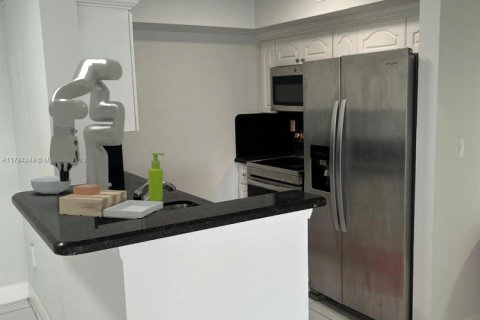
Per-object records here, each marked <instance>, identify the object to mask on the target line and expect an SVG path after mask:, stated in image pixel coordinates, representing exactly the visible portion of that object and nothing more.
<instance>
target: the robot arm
mask: <svg viewBox="0 0 480 320" xmlns="http://www.w3.org/2000/svg"><path fill="white" fill-rule="evenodd" d="M122 77H123V67H122V65H121V63H120V62H119V61H117V60H115V59H111V58H107V57H106V58H105V57H86V58H82V60H80V61H79V63H78V65H77V68H76V70H75V72H74V75H73V77H72V80H70V81H68V82H66V83H65V84H63V85H61V86H60V87H59V88H57V89H56V90H55V91H54V93H53V95H52V97H51V99H50V101H49V104H48V113H49V116H50V117H51V118H52V134H53V135H52V136H51V138H50V145H49V161H50V165H51V166H54V167H56V168H57V171H59V176H60V181H61V182H66V181H69V177H70V171H71V169H72V168H73V167H77V166H78V165H79V162H80V160H81V157H80V156H81V155H80V154H81V153H80V144H79V139H78V136H76V134H78V129H76V128H75V127H76V126H75V125H76V124H75V123H76V121H75V120H83V119H85V118H86V117H87V116H89V117H88V118H89V119H90V120H91V121H92V122H96V123H91V124H88V125H85V126H84V127H83V128H84V129H83V131H82V135H83V136H82V137H83V141H84V142H83V143H84V148H85V173H86V174H85V180H86V181H85V182H86V184H90V185H100V188H101V190H109V188H110V187H112V183H111V182H109V156H108V152H107V150H106V149H105V148H104V146H120V145H121V144H122V143H123V141H124V135H125V122H126V121H125V120H126V109H125V106H124V104H123V103H122V102H121V101H117V100H116V101H115V100H110V96H111V95H110V94H111V92H110V89H109V88H108V86H107V85H106V84H105V83H104V81H119V80H121V78H122ZM89 93H90V95H89V106H88V105H87V104H88V103H86V102H85V101H83V100H81V99H75V98H79V97H83V96H86V95H87V94H89ZM107 123H108V124H107ZM109 123H110V124H109Z"/></svg>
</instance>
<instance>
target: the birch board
mask: <svg viewBox="0 0 480 320" xmlns="http://www.w3.org/2000/svg"><path fill="white" fill-rule="evenodd" d="M127 191H128V190H111V189H108V190H101V193H98V194H95V195H92V196H86V195H73V193H71V194H68V195H67V194H66V195H64V196H60V197H58V199H59V200H58V201H59V202H58V203H59V205H58V207H59V209H58V210H59V215H63V214H67V215H66V216H80V215H82V216H83V217H97V216H98V217H100V218H101V217H104V216H103V210H104V209H107V208H110V207H112V206H115V205H117V204H120V203H123V202H125V201H128V200H127V199H128V198H127V197H128V195H127V193H128V192H127ZM98 217H97V218H98Z"/></svg>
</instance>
